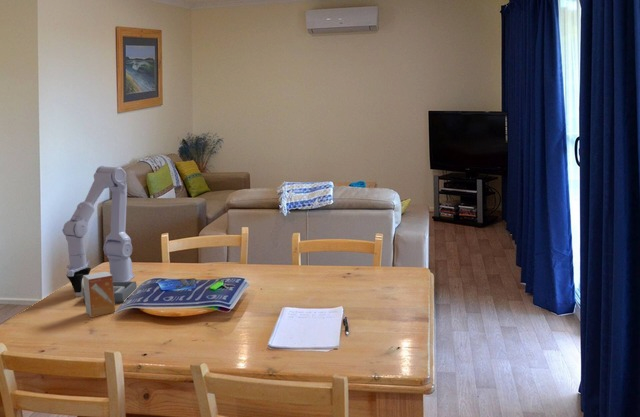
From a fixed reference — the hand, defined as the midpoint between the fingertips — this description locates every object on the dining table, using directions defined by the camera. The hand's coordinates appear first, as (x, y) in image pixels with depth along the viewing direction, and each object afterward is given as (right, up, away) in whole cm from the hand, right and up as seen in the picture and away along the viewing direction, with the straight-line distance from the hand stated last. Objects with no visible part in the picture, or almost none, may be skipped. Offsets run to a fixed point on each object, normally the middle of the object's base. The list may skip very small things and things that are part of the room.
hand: (80, 290), depth 260 cm
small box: (+13, -5, -20) cm, 24 cm away
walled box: (+12, -2, -3) cm, 12 cm away
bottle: (0, -2, 0) cm, 2 cm away
